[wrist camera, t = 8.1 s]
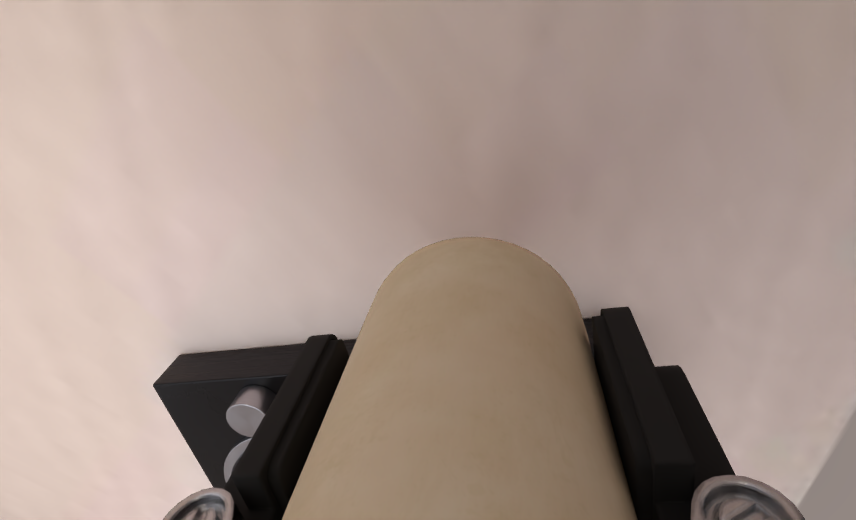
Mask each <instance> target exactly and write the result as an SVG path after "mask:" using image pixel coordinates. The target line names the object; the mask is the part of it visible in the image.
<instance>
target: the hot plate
mask: <svg viewBox="0 0 856 520" xmlns="http://www.w3.org/2000/svg"><path fill="white" fill-rule="evenodd" d="M583 322H584V325H585V328H586V332H587V335H588V339H589V342H590V346H591V350H592V353H593V357H594V349H593V333H592V318H591V319H583ZM356 340H357V339H355V340H344V343H345V346H346V349H347V352H348V354H349V357H350V355H351V352H352V350H353V348H354V345H355V343H356ZM304 345H305V344H299V345H287V346H276V347H265V348H254V349H242V350H231V351H220V352H209V353H197V354H186V355H179V356H178V357H177V358H176V359H175V361H174V362H173V363H172V364H171V365H170V366H169V367H168V368H167V369H166V371H165V372H164V373H163V374H162V375H161V376H160V377H159V378H158V380H157V381H156V382H155V383H154V384H153V387H154V388H155V390H156V392H157V393H158V395H159V397H160V398H161V400H162V402H163V403H164V405H165V407H166V408H167V410H168V412H169V413H170V415H171V417H172V419H173V420H174V422H175V424H176V425H177V427H178V429H179V430H180V432H181V434H182V435H183V437H184V439H185V440H186V442H187V444H188V445H189V447H190V449H191V450H192V452H193V454H194V455H195V457H196V459H197V461H198V462H199V464H200V466H201V467H202V469H203V471H204V472H205V474H206V476H207V477H208V479H209V481H210V482H211V484H212V486H213V487H214V488H222V489H223V488H224V487H225V485H226V483H227V481H228V479H229V478H230V476H231V474H232V472H233V471H234V469H235V467H236V465H237V464H238V462H239V460H240V458H241V456H242V455H243V453H244V451H245V449H246V448H247V446H248V444H249V442H250V440H251V439H252V437H253V435H254V433H255V432H256V430H257V428H258V426H259V425H260V423H261V421H262V419H263V417H264V416H265V414H266V412H267V410H268V409H269V407H270V405H271V403H272V402H273V400H274V398H275V396H276V395H277V393H278V391H279V389H280V388H281V386H282V384H283V382H284V380H285V379H286V377H287V375H288V373H289V372H290V370H291V368H292V366H293V365H294V363H295V361H296V359H297V357H298V356H299V354H300V352H301V350H302V349H303V347H304Z"/></svg>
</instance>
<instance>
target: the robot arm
mask: <svg viewBox="0 0 856 520" xmlns="http://www.w3.org/2000/svg"><path fill="white" fill-rule="evenodd" d="M592 333H593V349H594V361H595V364H596V368H597V372H598V375H599V379H600V383H601V387H602V390H603V394H604V398H605V401H606V405H607V409H608V412H609V416H610V420H611V423H612V427H613V431H614V435H615V438H616V442H617V446H618V449H619V453H620V457H621V460H622V464H623V468H624V471H625V475H626V479H627V483H628V486H629V490H630V494H631V497H632V501H633V505H634V508H635V512H636V516H637V519H638V520H805V518H804V517H803V515H802V514H801V513H800V511H799V510H798V509H797V507H796V506H795V505H794V504H793V503H792V502H791V501H790V500H789V499H788V498H786V497H785V496H784V495H783V494H782V493H780V492H779V491H777V490H776V489H774V488H772V487H770V486H768V485H767V484H765V483H763V482H760V481H757V480H754V479H751V478H748V477H745V476H736V475H735V473H734V471H733V469H732V467H731V465H730V463H729V461H728V459H727V457H726V455H725V453H724V451H723V449H722V447H721V445H720V443H719V441H718V439H717V437H716V435H715V433H714V431H713V429H712V427H711V425H710V423H709V421H708V419H707V417H706V415H705V413H704V411H703V409H702V407H701V405H700V403H699V401H698V399H697V397H696V395H695V393H694V391H693V389H692V387H691V385H690V383H689V381H688V379H687V377H686V375H685V373H684V372H683V370H682V369H681V367H679V366H678V365H675V366H661V367H654V364H653V362H652V360H651V357H650V355H649V353H648V350H647V348H646V346H645V343H644V341H643V339H642V336H641V334H640V332H639V329H638V327H637V325H636V322H635V320H634V318H633V315H632V313H631V311H630V309H629V307H619V308H608V309H601V316H594V317H592ZM348 360H349V354H348V352H347V349H346V346H345V343H344V341H343V340H341V339H339V340H338V339H337V337H336V336H335V335H333V334H328V335H317V336H311V337H309V338H308V340H307V341H306V343H305V345H304V347H303V349H302V350H301V352H300V354H299V356H298V357H297V359H296V361H295V363H294V365H293V366H292V368H291V370H290V372H289V373H288V375H287V377H286V379H285V380H284V382H283V384H282V386H281V388H280V389H279V391H278V393H277V395H276V396H275V398H274V400H273V402H272V403H271V405H270V407H269V409H268V410H267V412H266V414H265V416H264V417H263V419H262V421H261V423H260V425H259V426H258V428H257V430H256V432H255V433H254V435H253V437H252V439H251V440H250V442H249V444H248V446H247V448H246V449H245V451H244V453H243V455H242V456H241V458H240V460H239V462H238V464H237V465H236V467H235V469H234V471H233V472H232V474H231V476H230V478H229V479H228V481H227V483H226V485H225V487H224V488H223V489H222V488H208V489H203V490H201V491H198V492H196V493H194V494H191V495H190V496H188V497H187V498H185V499H184V500H182V501H181V502H179V503H178V504H177V505H176V506H175V507H174V508H173V509H171V510H170V511H169V512H168V514H167V515H166V516H165V518H164V519H163V520H282V518H283V515H284V513H285V510H286V508H287V506H288V503H289V501H290V498H291V496H292V494H293V491H294V489H295V487H296V484H297V482H298V479H299V477H300V475H301V472H302V470H303V467H304V465H305V463H306V460H307V458H308V455H309V453H310V451H311V448H312V446H313V443H314V441H315V439H316V436H317V434H318V431H319V429H320V427H321V424H322V422H323V419H324V417H325V415H326V412H327V410H328V408H329V405H330V403H331V400H332V398H333V396H334V393H335V391H336V388H337V386H338V384H339V381H340V379H341V376H342V374H343V372H344V369H345V367H346V364H347V362H348Z"/></svg>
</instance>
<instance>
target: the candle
mask: <svg viewBox="0 0 856 520" xmlns="http://www.w3.org/2000/svg"><path fill="white" fill-rule="evenodd" d="M282 520H638V519H637V516H636V512H635V508H634V505H633V501H632V497H631V494H630V490H629V486H628V483H627V479H626V475H625V471H624V468H623V464H622V460H621V457H620V453H619V449H618V446H617V442H616V438H615V435H614V431H613V427H612V423H611V420H610V416H609V412H608V409H607V405H606V401H605V398H604V394H603V390H602V387H601V383H600V379H599V375H598V372H597V368H596V364H595V361H594V357H593V353H592V350H591V346H590V342H589V339H588V335H587V332H586V328H585V325H584V322H583V319H582V315H581V312H580V309H579V306H578V303H577V301H576V299H575V297H574V295H573V293H572V291H571V290H570V288H569V287H568V285H567V284H566V282H565V281H564V280H563V278H562V277H561V276H560V274H559V273H558V272H557V271H556V270H555V269H554V268H553V267H552V266H551V265H549V264H548V263H547V262H546V261H544V260H543V259H542V258H540V257H539V256H537V255H535V254H534V253H532V252H530V251H529V250H527V249H524V248H522V247H520V246H517V245H515V244H512V243H508V242H505V241H502V240H496V239H490V238H481V237H464V238H454V239H449V240H444V241H440V242H437V243H434V244H431V245H428V246H426V247H424V248H422V249H420V250H418V251H416V252H414V253H413V254H411V255H410V256H408V257H407V258H405V259H404V260H403V261H402V262H401V263H400V264H398V265H397V266H396V267H395V269H394V270H393V271H392V272H391V273H390V274H389V275H388V277H387V278H386V279H385V280H384V282H383V284H382V285H381V287H380V288H379V290H378V292H377V294H376V296H375V299H374V301H373V303H372V305H371V307H370V310H369V312H368V314H367V317H366V319H365V321H364V324H363V326H362V329H361V331H360V333H359V336H358V338H357V340H356V343H355V345H354V348H353V350H352V352H351V355H350V357H349V360H348V362H347V364H346V367H345V369H344V372H343V374H342V376H341V379H340V381H339V384H338V386H337V388H336V391H335V393H334V396H333V398H332V400H331V403H330V405H329V408H328V410H327V412H326V415H325V417H324V419H323V422H322V424H321V427H320V429H319V431H318V434H317V436H316V439H315V441H314V443H313V446H312V448H311V451H310V453H309V455H308V458H307V460H306V463H305V465H304V467H303V470H302V472H301V475H300V477H299V479H298V482H297V484H296V487H295V489H294V491H293V494H292V496H291V498H290V501H289V503H288V506H287V508H286V510H285V513H284V515H283V518H282Z"/></svg>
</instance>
